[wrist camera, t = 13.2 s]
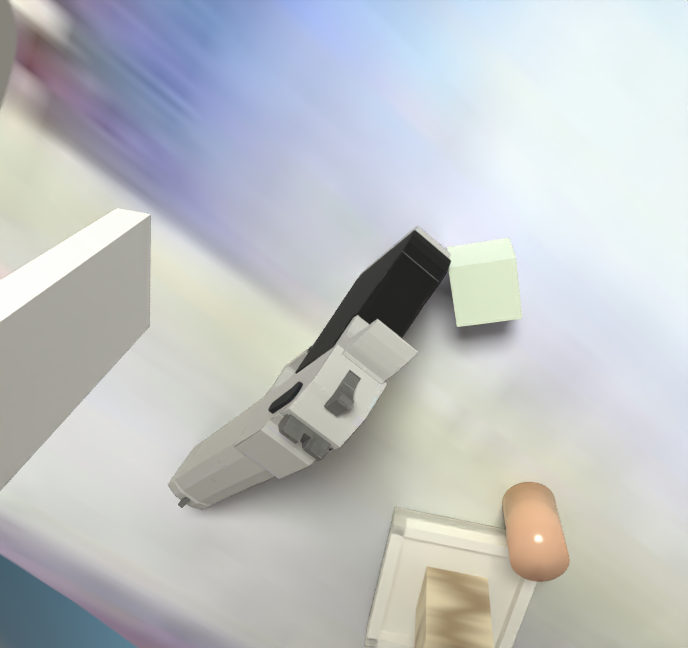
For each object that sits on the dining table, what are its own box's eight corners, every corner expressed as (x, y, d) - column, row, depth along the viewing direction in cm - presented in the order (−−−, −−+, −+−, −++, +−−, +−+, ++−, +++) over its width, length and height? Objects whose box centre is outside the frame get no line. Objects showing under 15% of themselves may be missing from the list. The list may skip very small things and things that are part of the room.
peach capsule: (561, 487, 50) (576, 545, 45) (546, 527, 52) (559, 586, 47) (509, 477, 51) (518, 533, 45) (496, 517, 52) (503, 575, 47)
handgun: (484, 238, 38) (385, 446, 30) (288, 379, 60) (198, 522, 52) (433, 193, 38) (315, 393, 29) (253, 353, 60) (156, 494, 51)
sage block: (509, 237, 43) (515, 258, 39) (515, 293, 44) (522, 318, 41) (447, 246, 43) (448, 267, 40) (455, 302, 45) (457, 327, 41)
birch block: (487, 578, 54) (494, 653, 47) (474, 620, 56) (478, 697, 50) (426, 566, 54) (425, 639, 48) (415, 608, 56) (413, 684, 50)
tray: (543, 536, 52) (547, 555, 51) (499, 653, 59) (501, 674, 57) (395, 507, 53) (393, 524, 51) (367, 625, 59) (365, 645, 57)
